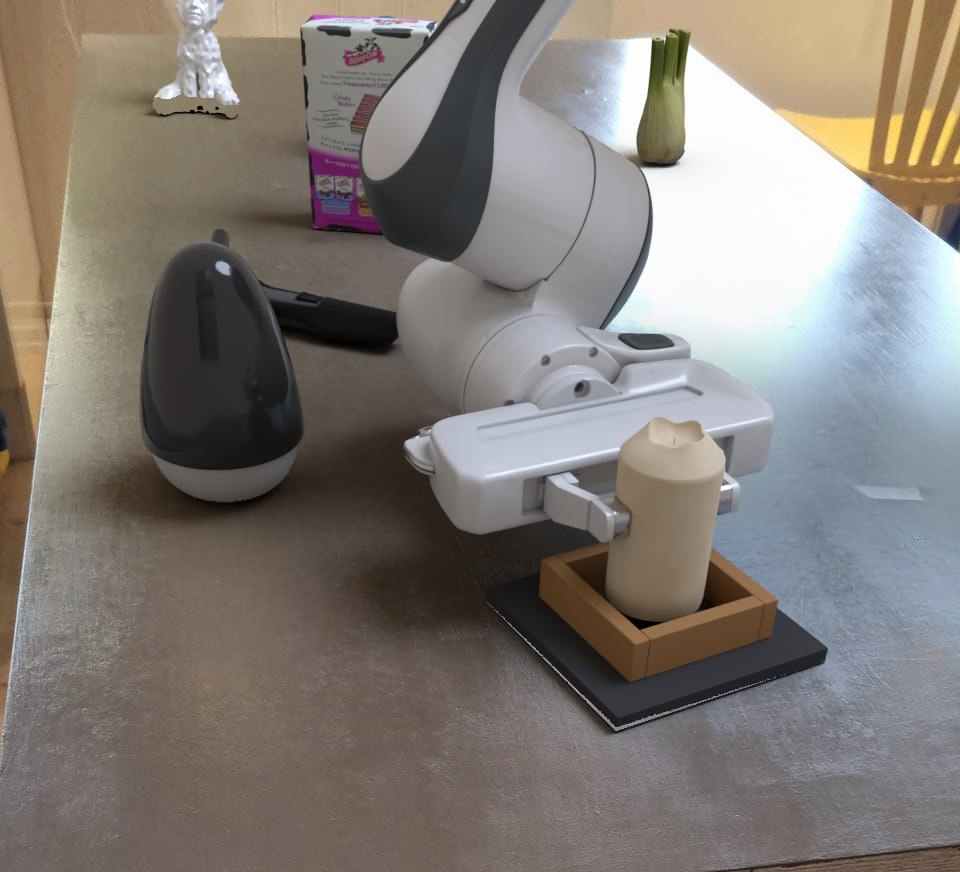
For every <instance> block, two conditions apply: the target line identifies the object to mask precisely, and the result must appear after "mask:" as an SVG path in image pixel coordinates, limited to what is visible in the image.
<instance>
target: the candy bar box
mask: <svg viewBox="0 0 960 872" xmlns="http://www.w3.org/2000/svg"><path fill="white" fill-rule="evenodd" d="M437 27H438V20H434V19H414V18H402V17H400V18H399V17H396V18H378V16H372V17H371V16H357V15H356V16H354V15H353V16H352V15H333V14H312V15H311V16H309V18H308V19H307V20H306V21H304V22H303V23H302V25H300V28H299V34H300V35H299V36H300V51H301V65H302V77H303V93H304V109H305V129H306V143H307V158H308V159H307V160H308V172H309V173H308V175H309V191H310V193H309V194H310V211H311V212H310V213H311V224H312V228H313V227H314V228H313V229H316V230H320V229H319V228H329V229H326V231H327V230H328V231H342V232H357V233H372V234H374V233H375V234H383V233H382V231H381V230H380V228H379V226H378V224H377V222H376V220H375V218H374V216H373V214H372V212H371V209H370V206H369V204H368V201H367V198H366V195H365V192H364V188H363V185H362V180H361V176H360V170H359V149H360V143H361V139H362V135H363V132H364V129H365V126H366V124H367V121H368V119H369V117H370V115H371V113H372V111H373V109H374V107H375V105H376V103H377V102H378V100H379V99H380V97H381V95H382V94H383V93H384V91H385V90H386V88H387V87H388V86H389V84H390V83H391V82H392V80H393V79H394V78H395V77H396V75H397V74H398V73H399V72H400V71H401V70H402V68H403V67H404V66H405V65H406V64H407V63H408V62H409V60H410V59H411V58H412V57H413V56H414V55H415V54H416V52H417V51H418V50H419V49H420V48H421V47H422V46H423V44H424V43H425V42H426V41H427V40H428V38H429V37H430V36H431V35H432V33H433V32H434V31H435V29H436V28H437ZM315 227H318V228H315ZM334 229H335V230H334ZM338 229H340V230H338Z"/></svg>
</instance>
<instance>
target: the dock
mask: <svg viewBox="0 0 960 872" xmlns="http://www.w3.org/2000/svg"><path fill="white" fill-rule="evenodd" d="M609 544H610V542H606V543H601V542H598V543H594V544H590V545H587V546H584V547H579V548H576V549H572V550H568V551H565V552H561V553H558V554H556V555H555V554H554V555H552V556H548V557H547V556H546V557H544V558H541V560H540V571H539V572H537V573H533V574H529V575H526V576H522V577H519V578H515V579H511V580H507V581H505V582H501V583H497V584H493V585H490V586H487V587H485V595H484V596H485V599H484V602H485V603H486V604H487V606H489V607H490V609H491V610H493V611H494V612H495V613H496V614H497V615H498V616H499V617H500V619H502V620H503V621H504V622H505V624H507V625H508V626H509V627H510V629H512V630H513V631H514V632H515V633H516V634H517V636H519V637H520V638H521V639H522V640H523V641H524V642H525V643H526V644H527V645H528V647H530V648H531V650H533V651H534V652H535V653H536V654H537V655H538V656H539V658H540V659H542V660H543V661H544V662H545V663H546V664H547V666H549V667H550V668H551V669H552V671H554V672H555V673H556V674H557V676H558V677H559V678H561V680H563V681H564V682H565V683H566V685H568V687H570V689H572V690H573V691H574V692H575V693H576V694H577V696H579V698H581V699H582V700H583V702H585V704H586V705H587V706H588V707H589V708H590V709H592V710H593V712H594V713H596V714H597V716H599V717H600V719H601V720H603V722H605V723H606V725H608V727H610V728H611V729H612V730H613V731H614V732H615V733H620V732H623V731H625V730H628V729H631V728H635V727H636V726H640V725H643V724H646V723H648V722H649V723H650V722H652V721H655V720H657V719H661V718H664V717H667V716H670V715H673V714H676V713H678V712H682V711H684V710H688V709H691V708H693V707H697V706H700V705H702V704H705V703H709V702H712V701H714V700H717V699H720V698H723V697H726V696H729V695H732V694H736V693H738V692H741V691H744V690H747V689H750V688H753V687H756V686H758V685H761V684H764V683H768V682H770V681H773V680H774V681H775V680H777V679H779V678H783V677H786V676H789V675H792V674H795V673H798V672H800V671H803V670H806V669H809V668H812V667H815V666H819V665H821V664H824V663H826V660H827V656H828V651H829V647H828V646H827V645H826V644H824V643H823V642H821V640H819V639H818V638H816V637H815V636H814V635H812V634H811V632H809V631H807V630H806V629H805V628H804V627H802V626H801V625H800V624H799V623H798V622H796V621H795V620H794V619H793V618H791V617H790V616H789V615H787V614H786V613H784V612H783V610H781V609H779V607H778V604H779V598H777V597H776V596H775V595H773V594H772V593H771V592H770V591H769V590H767V589H765V587H764V586H762V585H761V584H759V583H758V582H757V581H755V580H754V579H753V578H752V577H750V576H749V575H748V574H747V573H746V572H744V571H743V570H742V569H740V568H739V567H738V566H737V565H735V564H734V563H732V561H730V560H729V559H727V558H726V557H725V556H724V555H722V554H721V553H720V552H719V551H717V550H716V549H715V548H714V547H713V546H712V547H711V553H710V560H709V566H708V572H707V578H706V584H705V589H704V594H703V599H702V601H701V604H700V606H699V608H698V609H697V610H696V611H695V612H694V613H693V614H691V615H688V616H684V617H681V618H678V619H675V620H671V621H666V622H654V621H645V620H640V619H637V618H633V617H631V616H628V615H626V614H624V613H622V612H620V611H618V610H617V609H616V608H614V607H613V606H612V605H611V604H610V602H609V601H608V599H607V596H606V590H605V584H606V572H607V563H608V553H609ZM485 600H486V601H485ZM487 602H488V603H489V604H490V605H491V606H492V607H493V608H492V607H491V606H490V605H489V604H488V603H487ZM494 609H495V610H496V611H498V613H499V614H500V615H501V616H503V617H504V618H505V620H506V621H507V622H509V623H510V624H511V625H512V627H514V628H515V629H516V630H517V631H518V632H519V633H520V634H521V635H522V636H523V637H524V638H526V639H527V641H528V642H530V643H531V645H532V646H534V647H535V648H536V650H538V651H539V653H540V654H542V655H543V657H545V658H546V659H547V660H548V661H549V662H550V663H551V664H552V666H554V667H555V668H556V669H557V670H558V671H559V672H560V673H561V674H562V675H563V676H564V677H565V678H566V679H567V680H568V681H569V682H570V683H571V684H572V685H573V686H574V687H575V688H576V689H577V690H578V691H579V692H580V693H581V694H582V695H584V696H585V698H587V699H588V700H589V701H590V702H591V703H592V704H593V705H594V706H595V707H596V708H597V709H598V710H599V711H601V713H602V714H604V716H605V717H607V719H609V720H610V722H611V723H612V724H614V726H615V727H619V726H622V725H625V724H629V723H632V722H635V721H636V720H637V721H638V720H641V719H642V718H643V719H644V718H647V717H648V716H653V715H654V714H656V715H657V714H660V713H663V712H666V711H671V710H672V709H673V710H674V709H677V708H680V707H683V706H685V705H686V706H687V705H688V704H693V703H696V702H699V701H702V700H705V699H706V700H707V699H708V698H712V697H713V696H718V695H719V694H720V695H721V694H724V693H727V692H729V691H732V690H733V691H734V690H735V689H739V688H740V687H741V688H742V687H745V686H748V685H752V684H755V683H758V684H755V685H752V686H749V687H746V688H743V689H740V690H737V691H734V692H731V693H728V694H725V695H722V696H719V697H716V698H713V699H710V700H707V701H704V702H701V703H698V704H696V705H693V706H690V707H687V708H684V709H681V710H678V711H675V712H672V713H669V714H666V715H663V716H660V717H657V718H654V719H651V720H648V721H645V722H642V723H639V724H636V725H633V726H630V727H627V728H624V729H621V730H618V731H615V730H614V729H613V728H612V727H611V726H610V725H609V724H608V723H607V722H606V721H605V720H604V719H603V718H602V717H601V716H600V715H599V714H598V713H597V712H596V711H595V710H594V709H593V708H592V707H591V706H590V705H589V704H588V703H587V702H586V701H585V700H584V699H583V698H582V697H581V696H580V695H579V694H578V693H577V692H576V691H575V690H574V689H573V688H572V687H571V686H570V685H569V684H568V683H567V682H566V681H565V680H564V679H563V678H562V677H561V676H560V675H559V674H558V673H557V672H556V671H555V670H554V669H553V668H552V667H551V666H550V665H549V664H548V663H547V662H546V661H545V660H544V659H543V658H542V657H541V656H540V655H539V654H538V653H537V652H536V651H535V650H534V649H533V648H532V647H531V646H530V645H529V644H528V643H527V642H526V641H525V640H524V639H523V638H522V637H521V636H520V635H519V634H518V633H517V632H516V631H515V630H514V629H513V628H512V627H511V626H510V625H509V624H508V623H507V622H506V621H505V620H504V619H503V618H502V617H501V616H500V615H499V614H498V613H497V612H496V611H495V610H494ZM822 661H823V662H822ZM796 670H797V671H796ZM784 674H785V675H784ZM781 675H782V676H781ZM774 677H776V678H774ZM772 678H773V679H772ZM767 679H770V680H767ZM765 680H766V681H765ZM760 681H761V683H759V682H760ZM762 681H764V682H762Z"/></svg>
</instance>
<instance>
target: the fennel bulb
mask: <svg viewBox="0 0 960 872" xmlns="http://www.w3.org/2000/svg"><path fill="white" fill-rule="evenodd" d="M690 40H691V31H690V29H685V28H678V27H669V29H668V32H666V34H665V39H664V38H663V37H661V36H653V37H651V48H650V63H649V75H648V77H649V78H648V83H647V84H648V86H647V94H646V99H645V102H644V106H643V109H642V110H643V111H642V113H641V116H640V120H639V123H638V127H637V130H636V131H637V132H636V137H635V139H636V140H635V144H636V151H637V156H638V158H639V159H640V160H641V161H643V162H647V163H654V164H656V165H664V164H675V163H677V162H678V161H679V160H681V159H682V158H683V156H684V154H685V152H686V150H685V145H686V136H687V135H686V127H685V126H686V125H685V124H686V123H685V122H686V121H685V120H686V119H685V114H686V99H685V76H686V75H685V74H686V66H687V58H688V52H689V45H690Z"/></svg>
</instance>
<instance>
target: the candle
mask: <svg viewBox="0 0 960 872" xmlns="http://www.w3.org/2000/svg"><path fill="white" fill-rule="evenodd" d="M725 462H726V458H725V455H724V453H723V452H722V450H721V449H720V448H719V446H718V445H717V444H716V443H715V442H714V440H713V439H712V438H711V437H710V436H709V435H708V434H707V432H706V431H705V430H704V429H703V427H702V426H701V424H700V423H699V422H698V421H695V420H690V421H685V422H681V423H675V422H672V421H670V420H669V419H667V418H664V417H655V418H653V419H651V420H650V421H649V422H648V423H647V424H646V425H645V426H644V427H643V428H641V429H640V430H639V431H638V432H636V433H635V434H634V435H633V436H631V437H630V438H629V439H628V440H626V441H625V442H624V443H623V444H622V446H621V447H620V451H619V460H618V469H617V478H616V488H615V496H616V497H617V498H618V499H619V500H620V501H621V504H624V505H626V506H627V507H628V508H629V511H630V514H631V520H630V523H629V525H628V526H627V527H628V528H629V535H628V536H627V537H626V538H622V539H618V540H614V541H610V544H609V553H608V563H607V572H606V584H605V590H606V596H607V599H608V601H609V602H610V604H611V605H612V606H613V607H614V608H616V609H617V610H618V611H620V612H622V613H624V614H626V615H628V616H631V617H633V618H637V619H640V620H645V621H654V622H666V621H671V620H675V619H678V618H681V617H684V616H688V615H691V614H693V613H694V612H695V611H696V610H697V609H698V608H699V606H700V604H701V601H702V599H703V594H704V589H705V584H706V578H707V572H708V566H709V560H710V553H711V547H712V548H713V542H714V535H715V529H716V523H717V518H718V516H717V511H718V505H719V499H720V493H721V487H722V481H723V475H724V469H725Z"/></svg>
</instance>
